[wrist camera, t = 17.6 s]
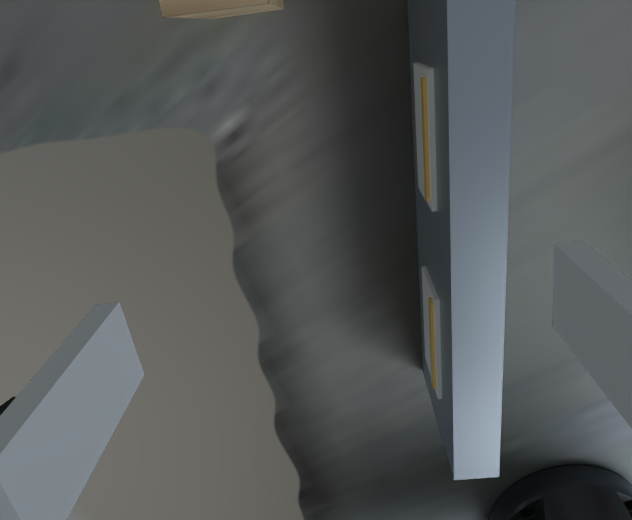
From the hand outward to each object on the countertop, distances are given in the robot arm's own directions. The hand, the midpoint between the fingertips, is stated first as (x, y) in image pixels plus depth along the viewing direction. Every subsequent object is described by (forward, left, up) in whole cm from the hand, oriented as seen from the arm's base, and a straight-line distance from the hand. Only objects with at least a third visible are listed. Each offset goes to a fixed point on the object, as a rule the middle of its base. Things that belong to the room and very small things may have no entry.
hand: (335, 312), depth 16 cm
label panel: (-6, -8, -24) cm, 26 cm away
